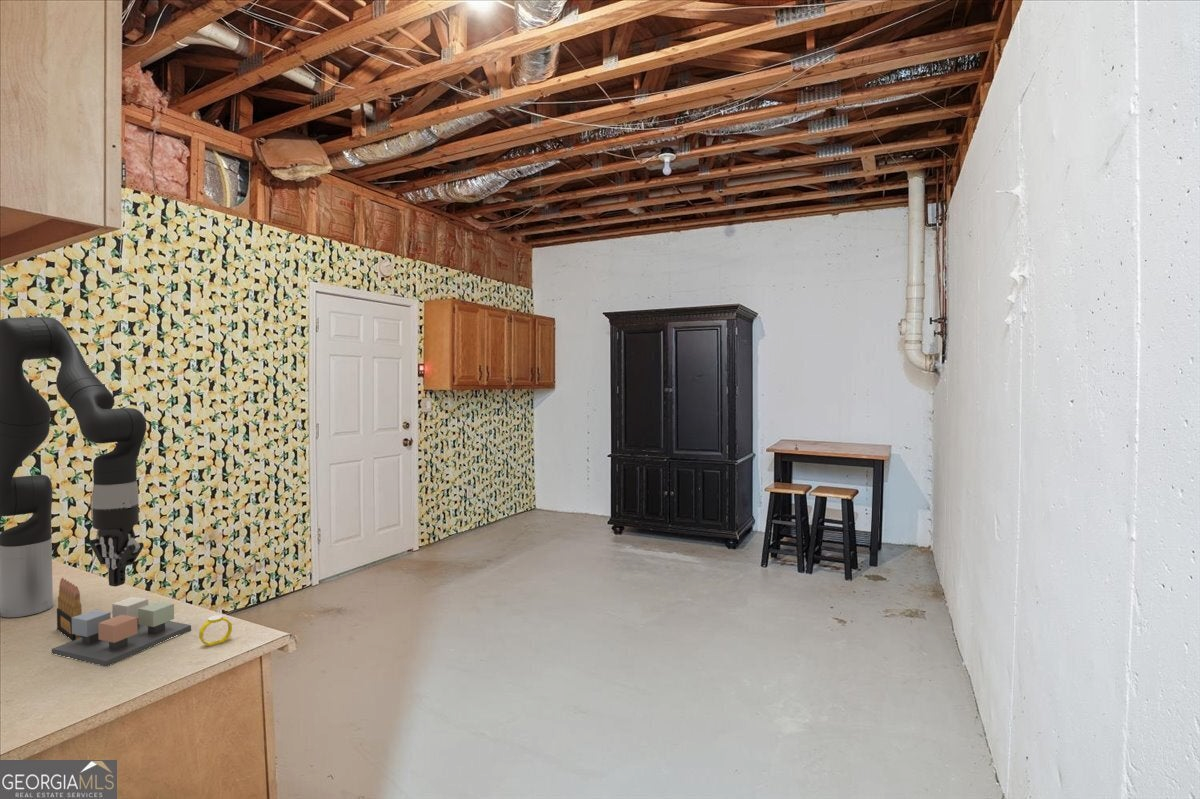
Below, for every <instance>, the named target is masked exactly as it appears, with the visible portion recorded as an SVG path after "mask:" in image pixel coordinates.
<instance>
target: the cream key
mask: <svg viewBox="0 0 1200 799" xmlns="http://www.w3.org/2000/svg"><path fill="white" fill-rule="evenodd" d="M111 605H112V606H111V607H112V611H111V612H112V615H111V616H112V617H111V618H114V617H116V616H119V615H127V616H132V617H137V618H138V608H141V607H144V606H147V605H149V599H148V598H143V597H138V596H131V597H128V598H125V599H123V600H119V601H116V602H113V603H112V604H111Z"/></svg>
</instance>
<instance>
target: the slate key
mask: <svg viewBox="0 0 1200 799" xmlns="http://www.w3.org/2000/svg"><path fill="white" fill-rule="evenodd" d="M111 612H112V611H104V610H99V609H93V610H90V611H87V612H85V613H82V614H81V615H78V616H75V617H72V634H75V635H80V636H85V637H88V636H91V635H94V634H96V633H98V623H100V622H103V621H105V620H108V619H111V618H112V617H111V616H112V615H111Z"/></svg>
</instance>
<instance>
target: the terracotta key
mask: <svg viewBox="0 0 1200 799" xmlns="http://www.w3.org/2000/svg"><path fill="white" fill-rule="evenodd" d="M98 633H99V640H104V641H108V642H113V643H115V642H118V641H120V640H123V639H125V638H128V637H130V636H133V635H135V634H138V631H137V617H132V616H127V615H119V616H116V617H114V618H112V617H111V619H108V620H105V621H103V622H100V623H98Z"/></svg>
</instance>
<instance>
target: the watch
mask: <svg viewBox="0 0 1200 799" xmlns="http://www.w3.org/2000/svg"><path fill="white" fill-rule="evenodd" d="M222 621H224V622H225V623H227V626H228V627H227V628H228V629H227V631H226V634H225V635H224V636H223V637H222V638H221V639H217V640H214V641H211V642H208V641H205V639H204V632H205V630H206V628H207V627H208V626H209V625H210V624H216V623H219V622H222ZM232 632H233V626H232V623H231V621H230V620H229V619H228V618H226V617H224V616H223V615H222V614H215V615H212V616H209V617H208V618H207V621H206V622H204V624H202V626H201V627H200V629H199V634H198V636H199V640H200V642H201V643H203V645H205V646H207V647H212V646H215V645H218V644H221V643H226V641H227V640H228V639H229V638H230V637H231V634H232Z"/></svg>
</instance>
